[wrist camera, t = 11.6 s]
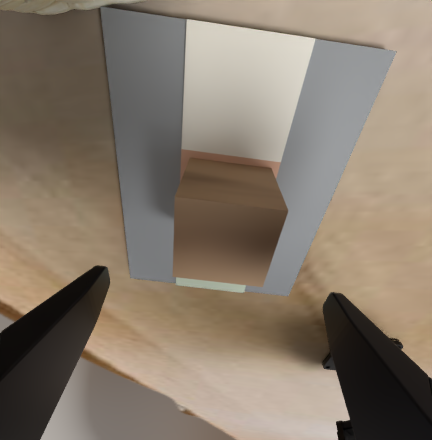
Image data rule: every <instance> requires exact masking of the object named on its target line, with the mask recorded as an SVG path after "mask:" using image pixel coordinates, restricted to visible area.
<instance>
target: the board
mask: <svg viewBox="0 0 432 440" xmlns="http://www.w3.org/2000/svg"><path fill="white" fill-rule="evenodd" d="M100 10H101V19H102V28H103V37H104V46H105V55H106V64H107V73H108V82H109V91H110V100H111V109H112V118H113V127H114V136H115V145H116V154H117V162H118V171H119V180H120V189H121V198H122V207H123V216H124V225H125V234H126V243H127V252H128V261H129V270H130V278H134V279H142V280H151V281H160V282H168V283H176V285H179V286H187V287H196V288H205V289H213V290H222V291H231V292H240V293H244V291H247V292H255V293H264V294H273V295H281V296H288V295H289V293H290V291H291V289H292V286H293V284H294V282H295V280H296V277H297V275H298V273H299V271H300V268H301V266H302V264H303V262H304V259H305V257H306V255H307V253H308V250H309V248H310V246H311V244H312V241H313V239H314V237H315V235H316V232H317V230H318V228H319V226H320V223H321V221H322V219H323V217H324V214H325V212H326V210H327V207H328V205H329V203H330V201H331V198H332V196H333V194H334V192H335V189H336V187H337V185H338V183H339V180H340V178H341V176H342V174H343V171H344V169H345V167H346V165H347V162H348V160H349V158H350V156H351V153H352V151H353V149H354V147H355V144H356V142H357V140H358V138H359V135H360V133H361V131H362V129H363V126H364V124H365V122H366V120H367V117H368V115H369V113H370V111H371V108H372V106H373V104H374V102H375V99H376V97H377V95H378V92H379V90H380V88H381V86H382V83H383V81H384V79H385V77H386V74H387V72H388V70H389V68H390V65H391V63H392V61H393V59H394V56H395V54H396V52H397V51H392V50H385V49H379V48H372V47H365V46H359V45H352V44H346V43H339V42H332V41H326V40H319V39H316V38H309V37H303V36H296V35H289V34H283V33H276V32H270V31H263V30H256V29H250V28H243V27H237V26H230V25H223V24H217V23H210V22H204V21H197V20H190V19H180V18H174V17H167V16H160V15H154V14H147V13H141V12H134V11H127V10H121V9H114V8H108V7H101V6H100ZM190 158H198V159H205V160H213V161H221V162H228V163H236V164H244V165H251V166H259V167H267V168H272V171H273V173H274V176H275V178H276V181H277V183H278V186H279V188H280V191H281V193H282V196H283V198H284V201H285V203H286V206H287V208H288V214H287V217H286V220H285V223H284V226H283V229H282V232H281V235H280V238H279V241H278V244H277V247H276V250H275V252H274V255H273V258H272V261H271V264H270V267H269V270H268V273H267V276H266V279H265V282H264V285H263V287H257V286H248V285H239V284H230V283H222V282H213V281H204V280H195V279H187V278H178V277H173V242H174V204H175V195H176V192H177V189H178V187H179V184H180V182H181V179H182V177H183V174H184V171H185V169H186V166H187V164H188V161H189V159H190Z"/></svg>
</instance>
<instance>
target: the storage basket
mask: <svg viewBox="0 0 432 440" xmlns="http://www.w3.org/2000/svg"><path fill="white" fill-rule="evenodd" d="M143 1H147V0H0V10H7V11H9V10H14V11H17V12H22V13H38V14H40V15H54V14H59V13H64V12H67V11H69V10H72V9H78V10H92V9H97V8H100V6H101V7H105V6H108V5H111V4H132V3H138V2H143Z"/></svg>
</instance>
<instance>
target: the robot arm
mask: <svg viewBox="0 0 432 440" xmlns="http://www.w3.org/2000/svg"><path fill="white" fill-rule="evenodd" d="M109 285H110V278H109V272H108V268H107V267H106V266H94V267H93V268H92V269H90V270H89V271H87V272H86V273H84V274H83V275H81V276H80V277H79V278H77V279H76V280H74V281H73V282H71V283H70V284H69V285H67V286H66V287H64V288H63V289H61V290H60V291H59V292H57V293H56V294H54V295H53V296H51V297H50V298H49V299H47V300H46V301H44V302H43V303H41V304H40V305H38V306H37V307H36V308H34V309H33V310H31V311H30V312H28V313H27V314H26V315H24V316H23V317H21V318H20V319H18V320H17V321H16V322H14V323H13V324H11V325H10V326H9V327H7V328H5V329H4V330H3V331H2V332H1V333H0V440H40V439H41V437H42V435H43V433H44V431H45V428H46V426H47V424H48V422H49V420H50V418H51V416H52V414H53V412H54V410H55V407H56V406H57V403H58V402H59V399H60V397H61V395H62V393H63V391H64V389H65V387H66V385H67V383H68V381H69V379H70V377H71V375H72V372H73V370H74V368H75V366H76V364H77V362H78V360H79V358H80V356H81V354H82V352H83V350H84V348H85V345H86V343H87V341H88V339H89V337H90V335H91V333H92V331H93V329H94V327H95V324H96V322H97V319H98V317H99V314H100V311H101V308H102V306H103V303H104V300H105V297H106V294H107V291H108V289H109ZM323 314H324V320H325V326H326V331H327V337H328V342H329V347H330V351H331V353H330V354H329V355H328V357H327V358H326V359H325V361H324V362H323V364H322V365H323V368H324V369H329V370H336V372H337V375H338V379H339V382H340V386H341V389H342V393H343V396H344V400H345V403H346V407H347V410H348V414H349V417H350V420H348V421H336V425H337V430H338V432H337V435H338V440H432V379H431V378H430V377H428V375H427V374H426V373H425V372H424V371H423V370H422V369H421V368H420V367H419V366H418V365H417V364H416V363H415V362H413V361H412V360H411V359H410V358H409V357H408V356H407V355H406V354H405V353H404V352H403V351H402V350H401V349H402V348H403V345H402V343H401V342H399V341H391V340H390V339H389V338H388V337H387V336H386V335H385V334H384V333H383V332H382V331H381V330H380V329H379V328H378V327H377V326H376V325H375V324H373V323H372V322H371V321H370V320H369V319H368V318H367V317H366V316H365V315H364V314H363V313H362V312H361V311H360V310H359V309H358V308H357V307H356V306H355V305H353V304H352V303H351V302H350V301H349V300H348V299H347V298H346V297H345V296H344V295H343V294H341V293H334V292H332V293H330V294H329V296H328V297H327V299H326V301H325V303H324V304H323Z"/></svg>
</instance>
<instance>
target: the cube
mask: <svg viewBox="0 0 432 440" xmlns="http://www.w3.org/2000/svg"><path fill="white" fill-rule="evenodd" d="M287 214H288V208H287V206H286V203H285V201H284V198H283V196H282V193H281V191H280V188H279V186H278V183H277V181H276V178H275V176H274V173H273V171H272V168H267V167H259V166H251V165H244V164H236V163H228V162H221V161H213V160H205V159H198V158H190V159H189V161H188V164H187V166H186V169H185V171H184V174H183V177H182V179H181V182H180V184H179V187H178V189H177V192H176V195H175V204H174V242H173V277H178V278H187V279H195V280H204V281H213V282H222V283H230V284H239V285H248V286H257V287H263V285H264V282H265V279H266V276H267V273H268V270H269V267H270V264H271V261H272V258H273V255H274V252H275V250H276V247H277V244H278V241H279V238H280V235H281V232H282V229H283V226H284V223H285V220H286V217H287Z"/></svg>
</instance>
